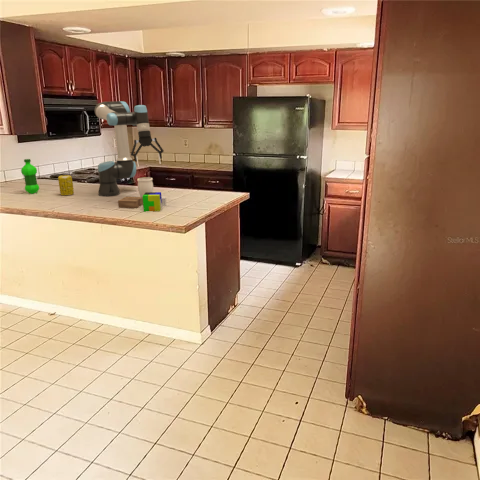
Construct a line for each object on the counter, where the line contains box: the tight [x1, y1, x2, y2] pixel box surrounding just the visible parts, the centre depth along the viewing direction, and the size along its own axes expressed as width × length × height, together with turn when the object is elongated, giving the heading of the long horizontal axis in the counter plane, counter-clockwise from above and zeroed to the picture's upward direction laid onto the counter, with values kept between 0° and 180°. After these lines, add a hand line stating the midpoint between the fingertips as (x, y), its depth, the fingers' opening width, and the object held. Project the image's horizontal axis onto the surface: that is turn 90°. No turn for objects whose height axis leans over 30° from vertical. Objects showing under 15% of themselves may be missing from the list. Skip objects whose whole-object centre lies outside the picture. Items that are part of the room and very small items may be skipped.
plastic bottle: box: [20, 158, 40, 195], centre depth 314 cm, size 10×10×25 cm
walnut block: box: [117, 196, 143, 209], centre depth 276 cm, size 12×12×5 cm
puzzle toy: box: [142, 191, 163, 213], centre depth 266 cm, size 10×10×10 cm
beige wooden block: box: [161, 196, 167, 207], centre depth 278 cm, size 5×5×5 cm
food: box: [57, 174, 75, 196], centre depth 308 cm, size 15×12×10 cm
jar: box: [136, 176, 154, 197], centre depth 290 cm, size 11×10×15 cm
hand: (149, 165), depth 266 cm, fingers open, 13 cm apart
